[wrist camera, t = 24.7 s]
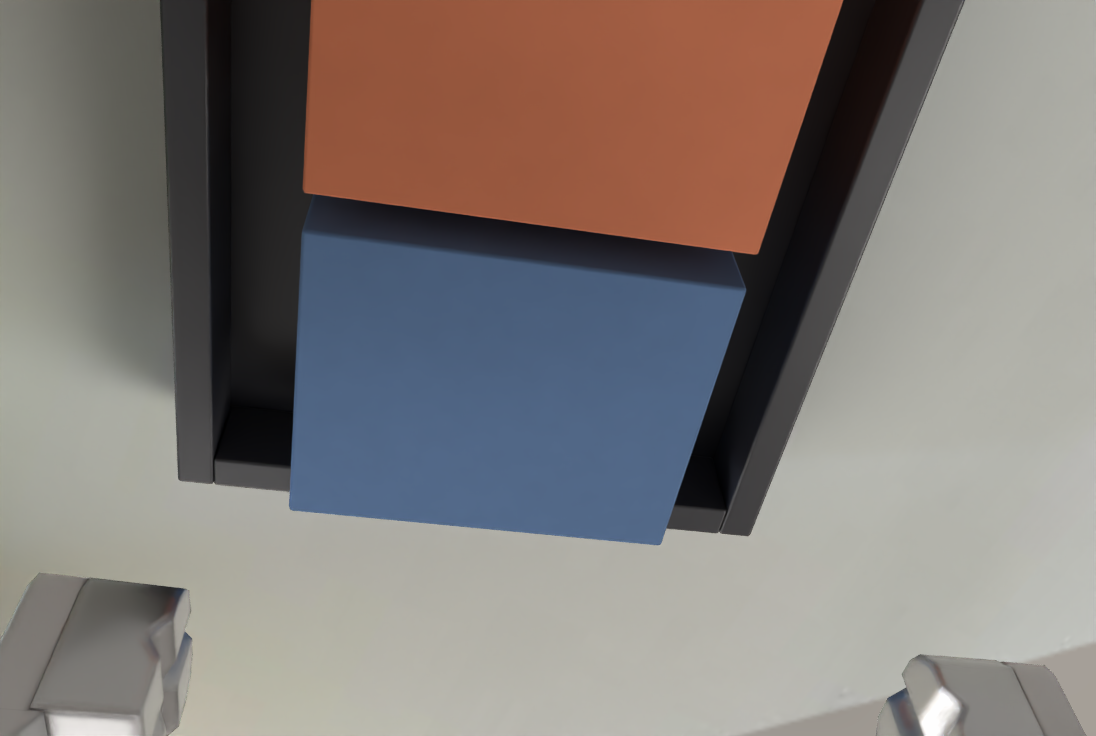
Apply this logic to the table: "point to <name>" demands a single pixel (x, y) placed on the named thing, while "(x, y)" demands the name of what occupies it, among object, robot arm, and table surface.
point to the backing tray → (282, 205)
